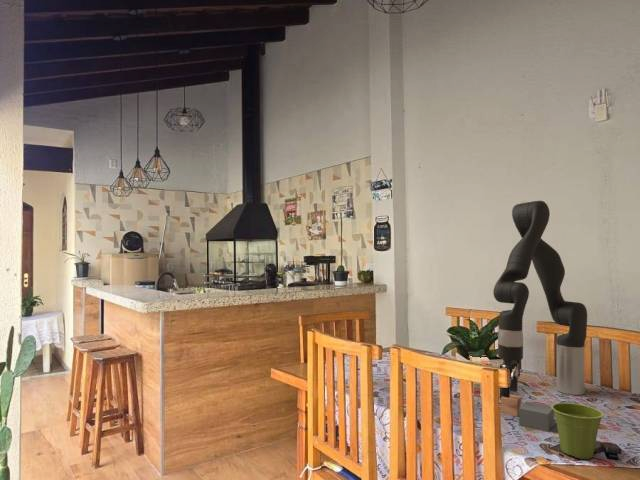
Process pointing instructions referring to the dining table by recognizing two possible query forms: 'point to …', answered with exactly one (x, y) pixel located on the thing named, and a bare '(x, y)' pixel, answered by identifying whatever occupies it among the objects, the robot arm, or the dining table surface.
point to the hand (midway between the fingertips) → (509, 393)
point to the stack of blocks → (484, 361)
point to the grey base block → (536, 416)
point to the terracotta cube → (511, 405)
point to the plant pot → (577, 428)
